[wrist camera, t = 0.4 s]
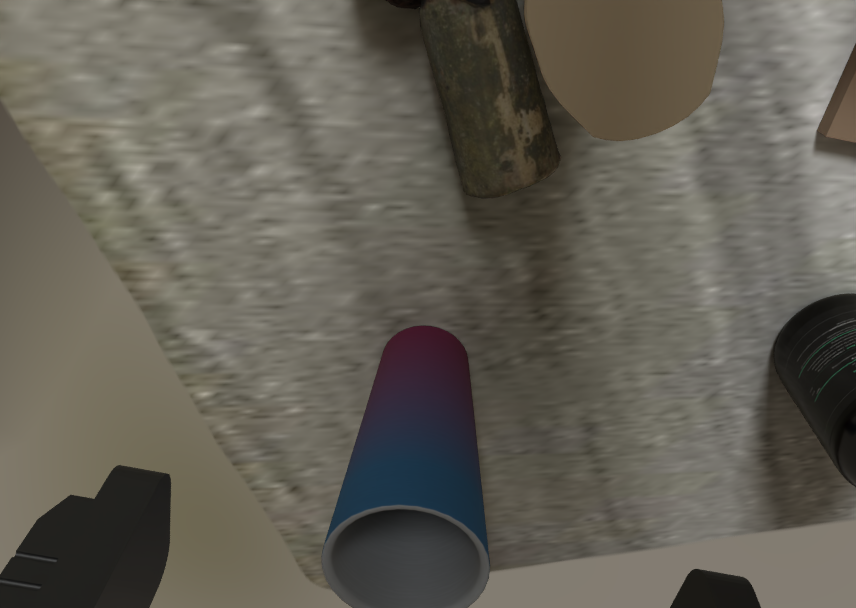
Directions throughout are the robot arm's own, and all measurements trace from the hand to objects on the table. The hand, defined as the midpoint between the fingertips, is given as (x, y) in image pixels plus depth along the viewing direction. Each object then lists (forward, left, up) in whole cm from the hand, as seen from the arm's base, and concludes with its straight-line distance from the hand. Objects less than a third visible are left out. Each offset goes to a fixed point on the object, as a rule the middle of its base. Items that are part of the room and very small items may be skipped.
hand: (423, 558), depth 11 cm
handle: (-6, +4, -28) cm, 29 cm away
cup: (+15, +1, -28) cm, 32 cm away
